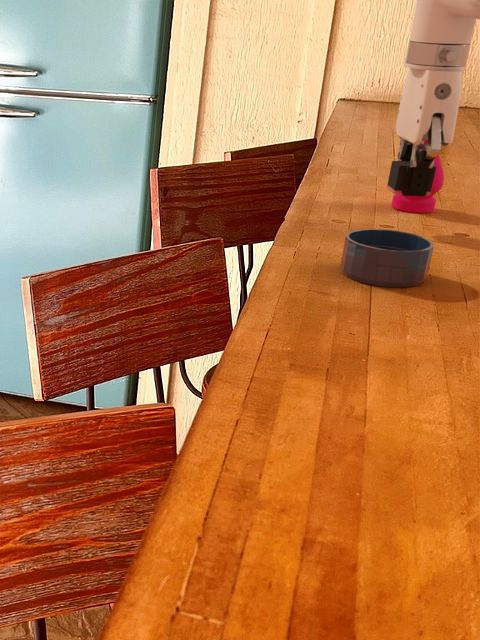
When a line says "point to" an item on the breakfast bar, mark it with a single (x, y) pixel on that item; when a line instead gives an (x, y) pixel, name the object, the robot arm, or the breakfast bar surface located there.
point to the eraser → (399, 174)
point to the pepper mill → (421, 202)
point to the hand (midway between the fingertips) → (408, 190)
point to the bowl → (386, 257)
